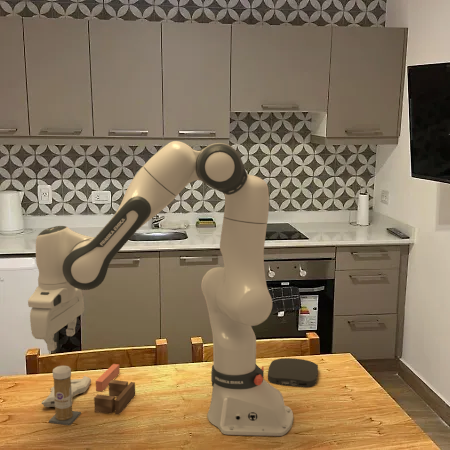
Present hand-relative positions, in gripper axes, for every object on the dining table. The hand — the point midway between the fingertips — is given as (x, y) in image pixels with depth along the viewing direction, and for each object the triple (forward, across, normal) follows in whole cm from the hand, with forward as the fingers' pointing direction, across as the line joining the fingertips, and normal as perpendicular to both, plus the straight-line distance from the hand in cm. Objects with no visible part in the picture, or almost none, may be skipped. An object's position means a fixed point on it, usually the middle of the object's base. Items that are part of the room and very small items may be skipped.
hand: (61, 342), depth 148 cm
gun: (+21, -11, -6) cm, 25 cm away
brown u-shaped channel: (+22, -10, +9) cm, 25 cm away
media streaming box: (+24, -39, +54) cm, 71 cm away
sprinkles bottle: (+21, +1, -1) cm, 21 cm away
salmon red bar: (+22, -22, +1) cm, 30 cm away
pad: (+21, 0, -1) cm, 21 cm away
